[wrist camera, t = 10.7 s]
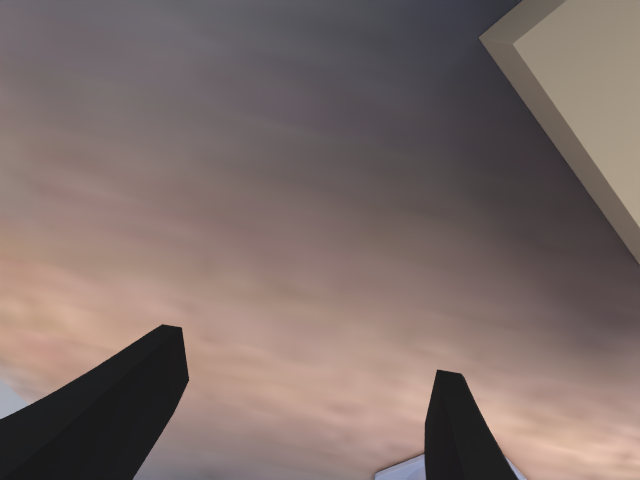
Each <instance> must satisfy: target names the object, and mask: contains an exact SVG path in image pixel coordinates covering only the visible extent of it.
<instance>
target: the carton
mask: <svg viewBox="0 0 640 480" xmlns="http://www.w3.org/2000/svg"><path fill="white" fill-rule="evenodd" d="M478 38H479V40H480V41H481V42H482V44H483V45H484V47H485V48H486V49H487V51H488V52H489V54H490V55H491V56H492V58H493V59H494V61H495V62H496V63H497V65H498V66H499V68H500V69H501V70H502V72H503V73H504V75H505V76H506V78H507V79H508V80H509V82H510V83H511V85H512V86H513V87H514V89H515V90H516V92H517V93H518V94H519V96H520V97H521V99H522V100H523V101H524V103H525V104H526V106H527V107H528V108H529V110H530V111H531V113H532V114H533V116H534V117H535V118H536V120H537V121H538V123H539V124H540V125H541V127H542V128H543V130H544V131H545V132H546V134H547V135H548V137H549V138H550V139H551V141H552V142H553V144H554V145H555V146H556V148H557V149H558V151H559V152H560V154H561V155H562V156H563V158H564V159H565V161H566V162H567V163H568V165H569V166H570V168H571V169H572V170H573V172H574V173H575V175H576V176H577V177H578V179H579V180H580V182H581V183H582V184H583V186H584V187H585V189H586V190H587V191H588V193H589V194H590V196H591V197H592V199H593V200H594V201H595V203H596V204H597V206H598V207H599V208H600V210H601V211H602V213H603V214H604V215H605V217H606V218H607V220H608V221H609V222H610V224H611V225H612V227H613V228H614V229H615V231H616V232H617V234H618V235H619V237H620V238H621V239H622V241H623V242H624V244H625V245H626V246H627V248H628V249H629V251H630V252H631V253H632V255H633V256H634V258H635V259H636V260H637V262H638V263H639V265H640V0H522V1H521V2H520V3H519V4H517V5H516V6H515V7H514V8H513V9H512V10H510V11H509V12H508V13H507V14H506V15H504V16H503V17H502V18H501V19H500V20H498V21H497V22H496V23H495V24H494V25H493V26H491V27H490V28H489V29H488V30H487V31H485V32H484V33H483V34H482V35H481V36H480V37H478Z"/></svg>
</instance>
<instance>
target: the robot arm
mask: <svg viewBox="0 0 640 480" xmlns="http://www.w3.org/2000/svg"><path fill="white" fill-rule="evenodd" d="M188 381H189V376H188V369H187V361H186V354H185V347H184V339H183V332H182V328H181V327H175V326H169V325H163V324H162V325H161V326H159V327H157V328H156V329H154V330H152V331H151V332H149V333H148V334H146V335H145V336H143V337H142V338H140V339H139V340H137V341H136V342H134V343H132V344H131V345H129V346H128V347H126V348H125V349H123V350H122V351H120V352H119V353H117V354H116V355H114V356H112V357H111V358H109V359H108V360H106V361H105V362H103V363H102V364H100V365H98V366H97V367H95V368H94V369H92V370H90V371H89V372H87V373H85V374H84V375H82V376H80V377H79V378H77V379H75V380H74V381H72V382H70V383H68V384H67V385H65V386H63V387H62V388H60V389H58V390H57V391H55V392H53V393H51V394H49V395H48V396H46V397H44V398H42V399H40V400H38V401H36V402H35V403H33V404H31V405H29V406H27V407H25V408H23V409H21V410H19V411H17V412H15V413H13V414H11V415H9V416H7V417H5V418H3V419H0V480H132V479H133V478H134V476H135V475H136V473H137V471H138V470H139V468H140V467H141V465H142V463H143V462H144V460H145V459H146V457H147V456H148V454H149V452H150V451H151V449H152V448H153V446H154V444H155V443H156V441H157V440H158V438H159V436H160V435H161V433H162V432H163V430H164V428H165V427H166V425H167V423H168V422H169V420H170V418H171V417H172V415H173V413H174V412H175V409H176V407H177V405H178V403H179V401H180V399H181V397H182V395H183V392H184V390H185V388H186V386H187V383H188ZM374 480H527V479H526V478H525V477H524V476H523V475H522V474H521V473H520V471H519V470H518V469H517V468H516V467H515V466H514V465H513V464H512V463H511V462H510V461H509V460H508V459H507V458H506V457H505V456H504V455H503V453H502V451H501V449H500V447H499V446H498V444H497V442H496V440H495V439H494V437H493V435H492V433H491V431H490V430H489V428H488V426H487V424H486V422H485V420H484V418H483V416H482V414H481V412H480V410H479V408H478V406H477V404H476V402H475V400H474V398H473V396H472V394H471V392H470V389H469V387H468V385H467V383H466V380H465V378H464V377H463V375H462V374H461V373H455V372H449V371H442V370H437V372H436V377H435V381H434V386H433V390H432V394H431V399H430V403H429V408H428V412H427V416H426V421H425V452H424V454H423V455H421V456H418V457H415V458H413V459H410V460H408V461H405V462H403V463H400V464H397V465H395V466H392V467H390V468H387V469H385V470H382V471H379V472H377V473H376V474H375V478H374Z"/></svg>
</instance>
